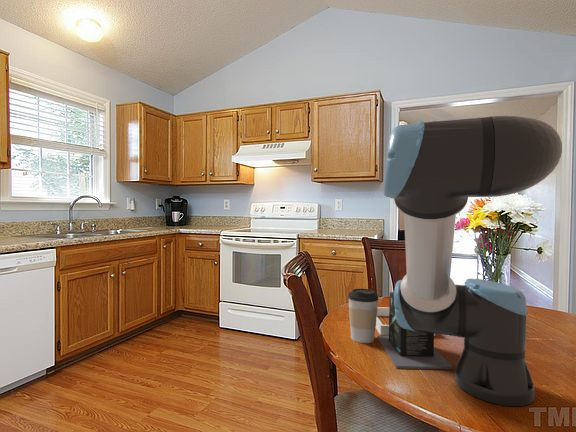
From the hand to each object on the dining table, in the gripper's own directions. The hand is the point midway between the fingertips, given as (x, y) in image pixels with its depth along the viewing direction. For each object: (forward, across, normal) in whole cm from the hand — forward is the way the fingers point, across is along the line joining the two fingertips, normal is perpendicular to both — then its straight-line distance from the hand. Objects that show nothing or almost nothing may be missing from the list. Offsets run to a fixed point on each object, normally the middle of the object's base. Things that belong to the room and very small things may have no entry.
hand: (429, 254), depth 97 cm
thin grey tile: (+27, -4, +7) cm, 28 cm away
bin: (+27, +18, +2) cm, 32 cm away
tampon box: (+26, -3, +7) cm, 27 cm away
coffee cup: (+27, +6, +18) cm, 33 cm away
